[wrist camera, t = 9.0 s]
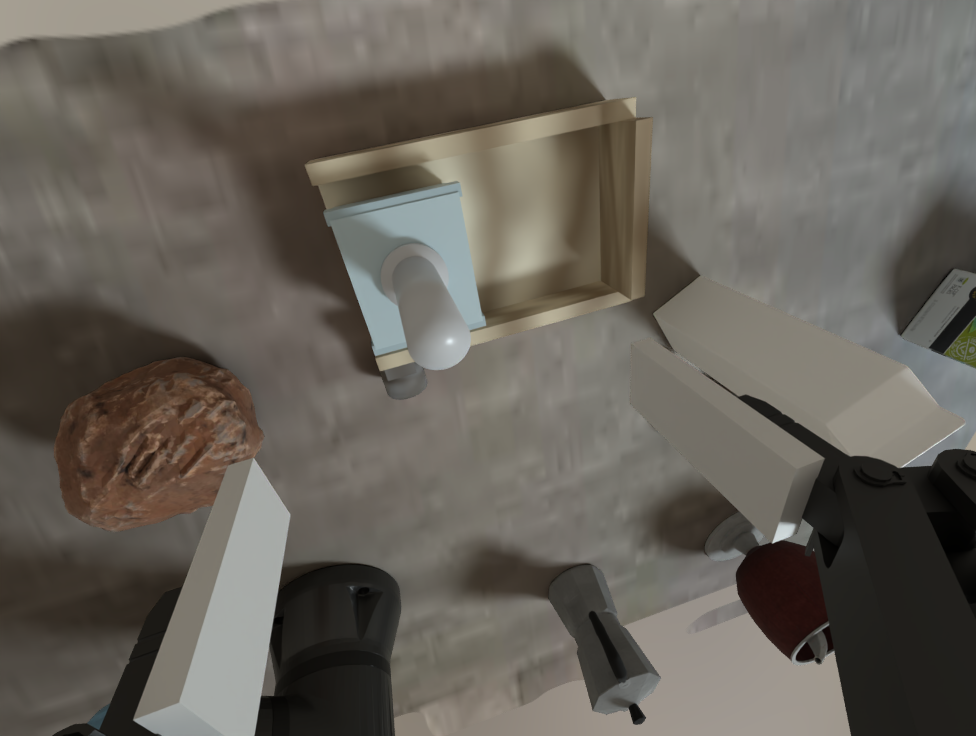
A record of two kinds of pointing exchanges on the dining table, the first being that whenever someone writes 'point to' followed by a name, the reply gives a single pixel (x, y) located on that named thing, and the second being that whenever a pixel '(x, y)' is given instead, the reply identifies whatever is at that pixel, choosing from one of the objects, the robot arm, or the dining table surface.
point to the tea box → (948, 319)
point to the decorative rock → (153, 443)
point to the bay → (523, 213)
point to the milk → (806, 373)
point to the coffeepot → (602, 643)
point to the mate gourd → (777, 589)
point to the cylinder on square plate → (412, 272)
